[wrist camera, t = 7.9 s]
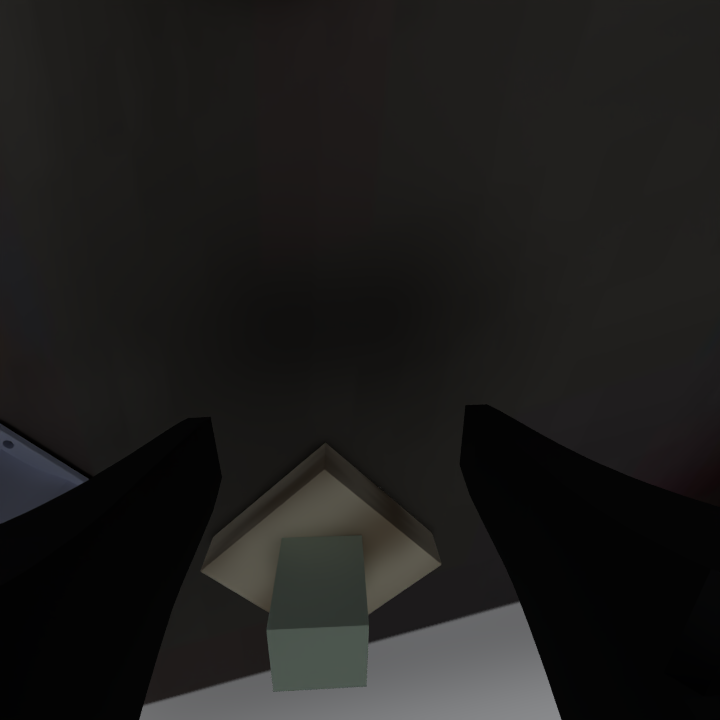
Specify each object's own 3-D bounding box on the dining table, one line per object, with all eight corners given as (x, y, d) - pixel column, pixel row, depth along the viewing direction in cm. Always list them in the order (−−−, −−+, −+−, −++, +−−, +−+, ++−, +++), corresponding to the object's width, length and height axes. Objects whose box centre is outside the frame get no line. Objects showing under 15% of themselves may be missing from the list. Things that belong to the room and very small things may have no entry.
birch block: (215, 529, 24) (200, 571, 22) (325, 436, 22) (324, 469, 20) (324, 601, 28) (323, 645, 25) (429, 525, 26) (441, 564, 23)
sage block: (286, 593, 23) (273, 691, 18) (281, 537, 21) (266, 630, 17) (360, 590, 23) (366, 686, 18) (361, 535, 21) (368, 625, 17)
